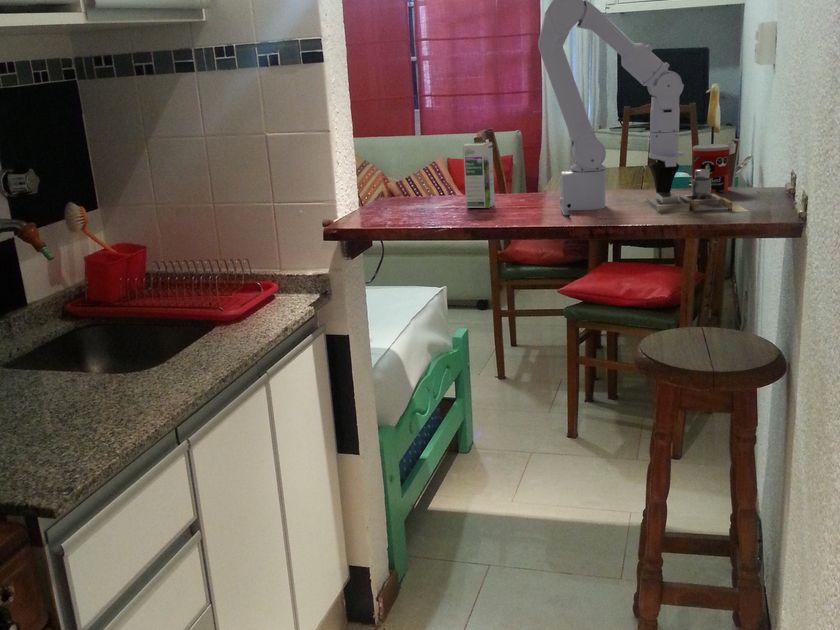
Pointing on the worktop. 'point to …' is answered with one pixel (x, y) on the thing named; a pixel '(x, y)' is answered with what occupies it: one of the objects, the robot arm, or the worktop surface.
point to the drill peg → (701, 185)
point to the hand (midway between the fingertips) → (663, 197)
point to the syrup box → (478, 175)
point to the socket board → (695, 205)
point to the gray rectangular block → (667, 198)
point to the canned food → (712, 165)
